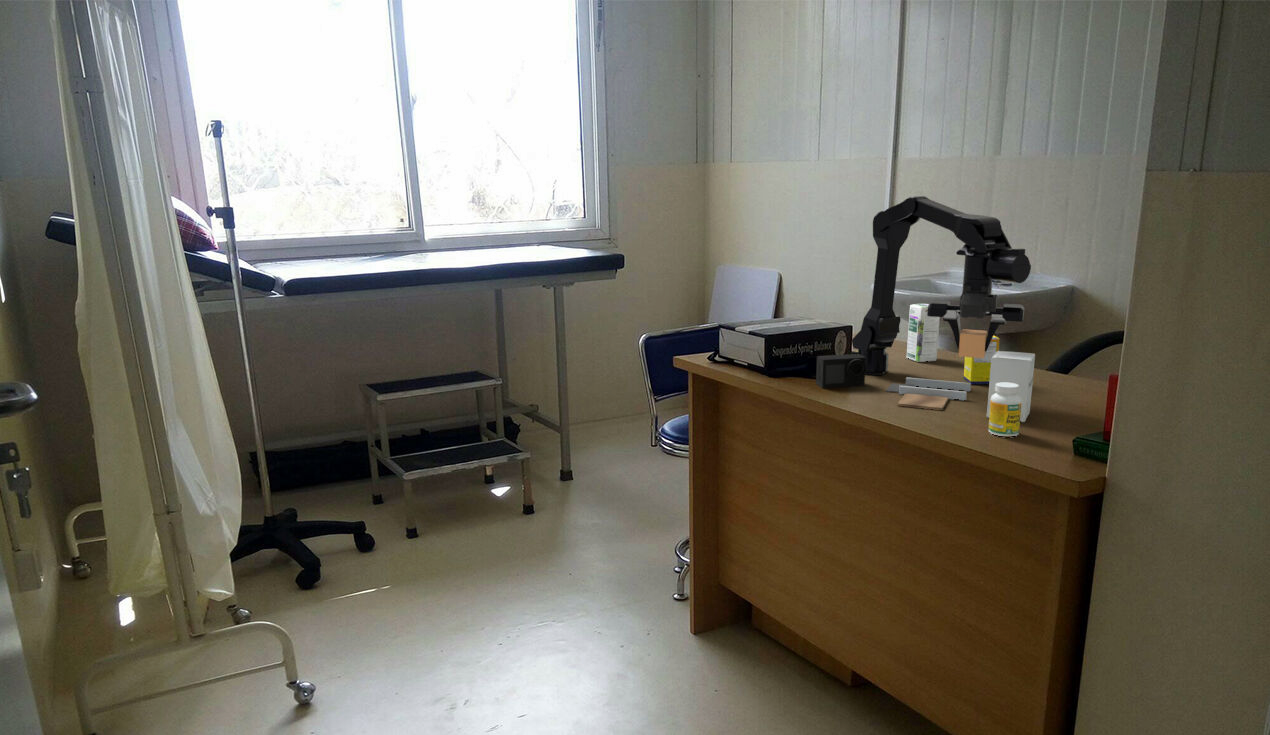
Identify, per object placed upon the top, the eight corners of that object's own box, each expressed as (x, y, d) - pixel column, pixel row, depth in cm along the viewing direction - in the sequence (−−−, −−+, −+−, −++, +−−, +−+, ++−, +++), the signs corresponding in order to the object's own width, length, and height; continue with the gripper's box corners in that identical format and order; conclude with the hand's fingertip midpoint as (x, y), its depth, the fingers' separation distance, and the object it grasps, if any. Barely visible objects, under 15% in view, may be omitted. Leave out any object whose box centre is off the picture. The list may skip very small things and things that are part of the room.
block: (958, 356, 177) (960, 333, 175) (960, 351, 181) (962, 329, 180) (983, 358, 174) (985, 335, 173) (985, 353, 179) (987, 330, 177)
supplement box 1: (988, 378, 196) (992, 333, 194) (996, 385, 190) (1000, 338, 188) (962, 378, 197) (965, 333, 194) (970, 384, 191) (973, 338, 189)
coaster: (897, 406, 175) (897, 403, 175) (905, 395, 183) (905, 393, 183) (942, 410, 171) (942, 407, 171) (947, 400, 179) (948, 397, 179)
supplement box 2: (1025, 423, 162) (1031, 360, 159) (985, 418, 166) (990, 356, 163) (1030, 413, 168) (1036, 353, 165) (991, 408, 172) (996, 349, 169)
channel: (898, 394, 184) (899, 386, 184) (906, 384, 192) (906, 377, 192) (965, 400, 178) (966, 392, 178) (970, 390, 186) (970, 382, 186)
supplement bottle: (1000, 427, 159) (1004, 379, 157) (1025, 435, 155) (1029, 385, 152) (981, 432, 157) (985, 383, 154) (1006, 440, 152) (1010, 389, 150)
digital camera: (824, 390, 190) (825, 360, 188) (815, 384, 195) (816, 355, 193) (866, 387, 191) (868, 358, 189) (857, 382, 196) (858, 353, 195)
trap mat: (886, 391, 187) (886, 390, 187) (892, 384, 193) (892, 383, 193) (908, 393, 184) (909, 392, 184) (914, 386, 191) (914, 385, 190)
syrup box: (905, 358, 219) (908, 304, 216) (925, 356, 221) (928, 302, 217) (917, 362, 214) (920, 307, 211) (937, 361, 215) (941, 306, 212)
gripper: (926, 280, 171) (921, 354, 174) (1025, 285, 163) (1018, 362, 166) (933, 274, 180) (928, 344, 184) (1027, 277, 172) (1020, 350, 176)
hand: (972, 350), depth 177 cm, fingers closed on block, 5 cm apart
